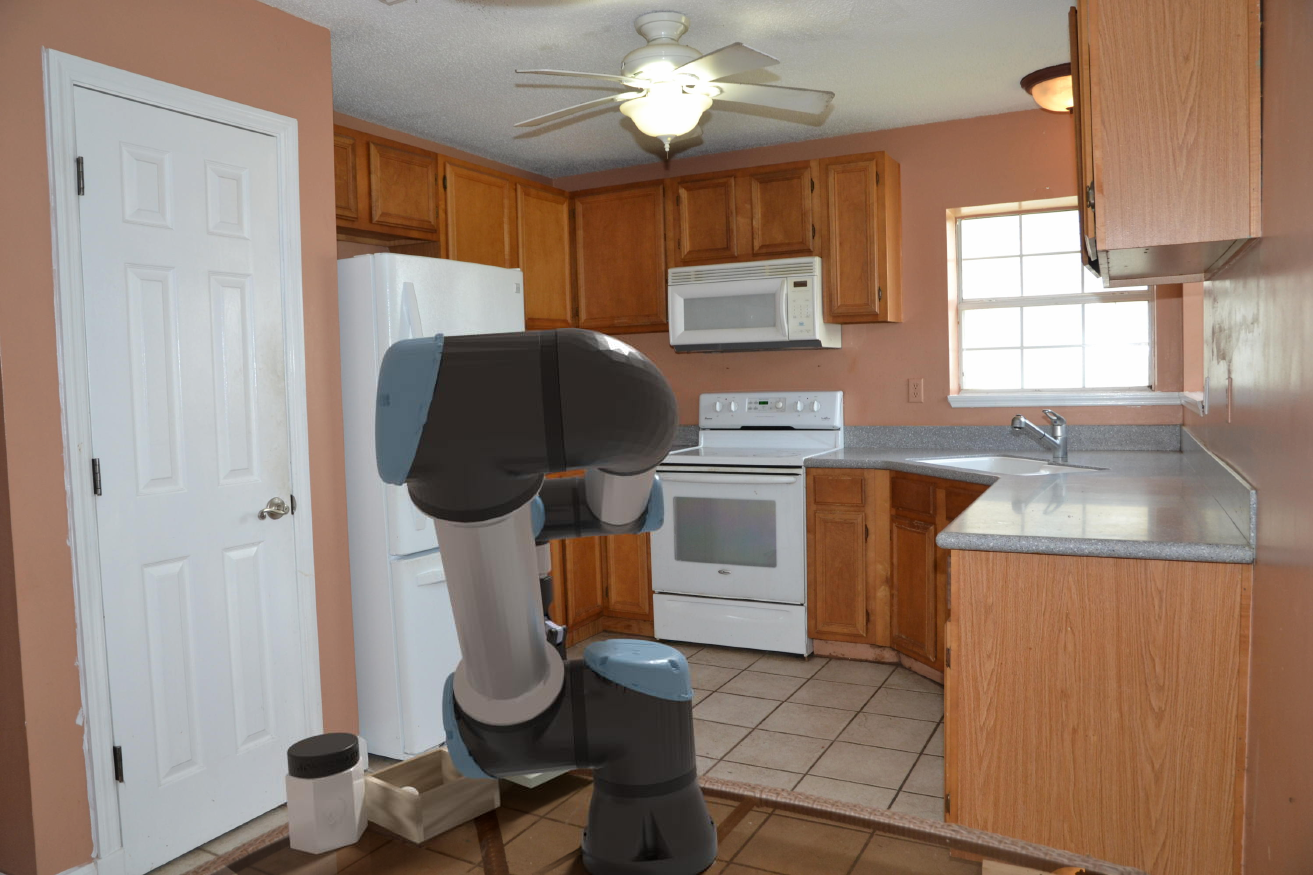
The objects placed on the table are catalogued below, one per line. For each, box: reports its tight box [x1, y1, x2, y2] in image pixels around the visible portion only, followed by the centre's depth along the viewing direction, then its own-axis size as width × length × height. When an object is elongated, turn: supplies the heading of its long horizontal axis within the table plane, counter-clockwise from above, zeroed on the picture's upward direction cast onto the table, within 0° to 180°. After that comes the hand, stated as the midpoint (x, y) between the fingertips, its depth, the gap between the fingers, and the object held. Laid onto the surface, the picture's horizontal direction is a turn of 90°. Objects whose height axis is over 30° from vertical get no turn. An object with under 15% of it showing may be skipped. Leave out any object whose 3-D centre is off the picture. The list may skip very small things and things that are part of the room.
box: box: [364, 746, 501, 845], centre depth 112 cm, size 12×12×6 cm
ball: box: [401, 787, 419, 795], centre depth 113 cm, size 3×3×3 cm
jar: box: [284, 732, 369, 855], centre depth 107 cm, size 9×8×12 cm
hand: (535, 747), depth 120 cm, fingers closed on lid, 5 cm apart
